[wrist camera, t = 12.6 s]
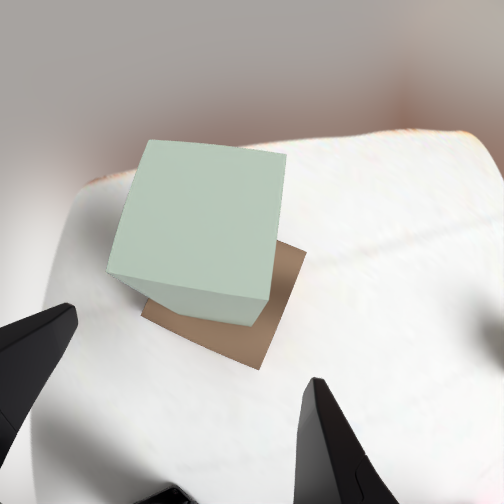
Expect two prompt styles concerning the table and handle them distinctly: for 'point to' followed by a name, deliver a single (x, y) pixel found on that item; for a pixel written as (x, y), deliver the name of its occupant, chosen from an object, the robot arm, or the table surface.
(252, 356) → the walnut block
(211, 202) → the tall block
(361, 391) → the table surface
